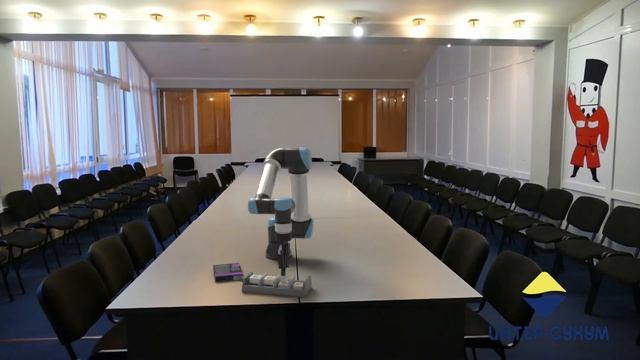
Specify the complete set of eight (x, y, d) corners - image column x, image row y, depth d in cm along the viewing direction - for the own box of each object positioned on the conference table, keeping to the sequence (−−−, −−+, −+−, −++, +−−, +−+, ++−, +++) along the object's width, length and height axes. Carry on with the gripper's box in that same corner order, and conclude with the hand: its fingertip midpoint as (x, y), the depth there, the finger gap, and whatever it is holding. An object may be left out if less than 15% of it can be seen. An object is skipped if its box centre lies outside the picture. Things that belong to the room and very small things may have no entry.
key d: (267, 280, 209) (267, 275, 209) (275, 281, 208) (275, 275, 208) (263, 284, 205) (263, 278, 205) (272, 284, 204) (272, 279, 204)
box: (243, 281, 220) (239, 268, 239) (243, 274, 220) (239, 261, 239) (214, 283, 217) (213, 270, 235) (214, 276, 216) (213, 263, 235)
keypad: (251, 282, 216) (251, 270, 215) (311, 287, 208) (311, 275, 208) (241, 291, 204) (241, 279, 203) (304, 297, 197) (304, 284, 196)
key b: (253, 279, 211) (253, 274, 211) (261, 280, 210) (261, 274, 210) (249, 282, 207) (249, 277, 206) (258, 283, 206) (258, 278, 205)
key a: (281, 285, 208) (281, 280, 208) (290, 286, 207) (290, 280, 206) (278, 289, 204) (278, 283, 203) (287, 289, 203) (287, 284, 202)
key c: (295, 287, 206) (295, 281, 206) (304, 287, 205) (304, 282, 205) (292, 290, 202) (292, 284, 202) (302, 291, 201) (302, 285, 201)
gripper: (280, 228, 209) (280, 276, 212) (270, 234, 196) (271, 286, 199) (295, 228, 207) (296, 277, 210) (286, 235, 195) (287, 287, 198)
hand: (284, 281), depth 205 cm, fingers closed
